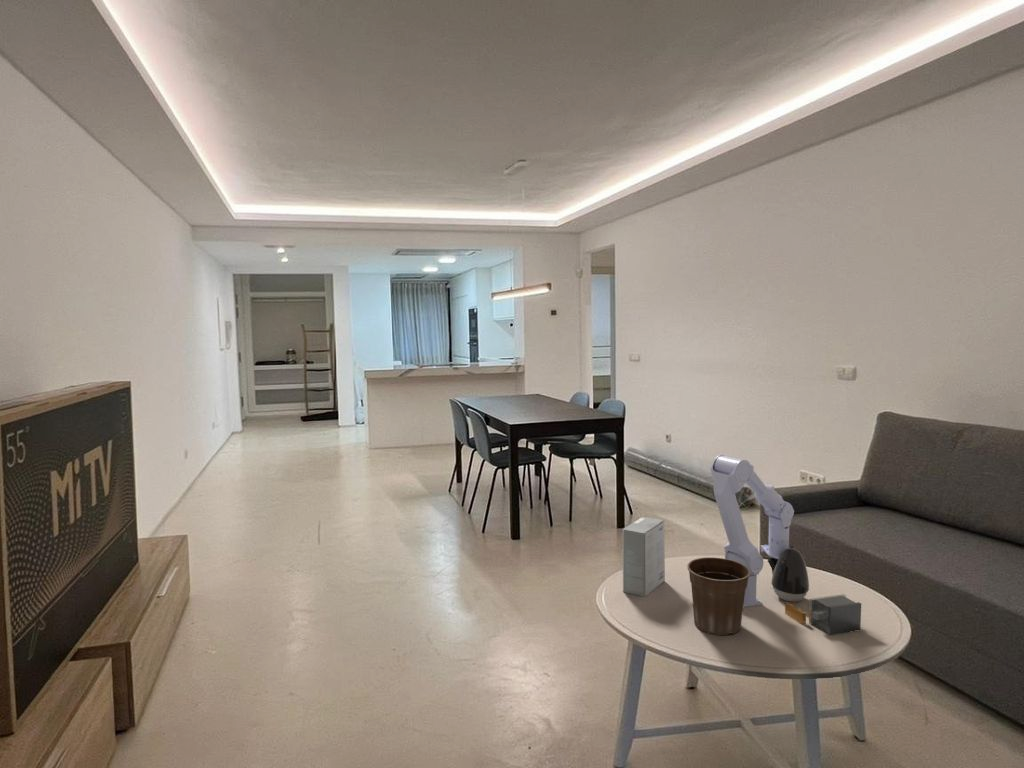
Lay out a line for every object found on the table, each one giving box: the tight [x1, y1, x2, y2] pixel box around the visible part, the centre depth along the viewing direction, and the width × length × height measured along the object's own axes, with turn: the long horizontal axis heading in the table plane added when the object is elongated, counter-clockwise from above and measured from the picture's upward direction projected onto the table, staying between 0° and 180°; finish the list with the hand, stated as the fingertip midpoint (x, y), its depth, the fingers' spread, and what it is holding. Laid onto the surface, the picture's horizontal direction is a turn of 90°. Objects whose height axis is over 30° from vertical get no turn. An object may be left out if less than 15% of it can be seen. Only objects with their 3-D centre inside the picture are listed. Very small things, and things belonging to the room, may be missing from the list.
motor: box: [784, 593, 862, 636], centre depth 177 cm, size 15×14×7 cm
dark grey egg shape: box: [771, 545, 810, 602], centre depth 191 cm, size 10×10×15 cm
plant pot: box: [686, 556, 750, 636], centre depth 174 cm, size 16×16×16 cm
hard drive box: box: [622, 516, 666, 598], centre depth 201 cm, size 16×8×20 cm, turn 144°
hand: (778, 582), depth 197 cm, fingers closed, pressing on dark grey egg shape
